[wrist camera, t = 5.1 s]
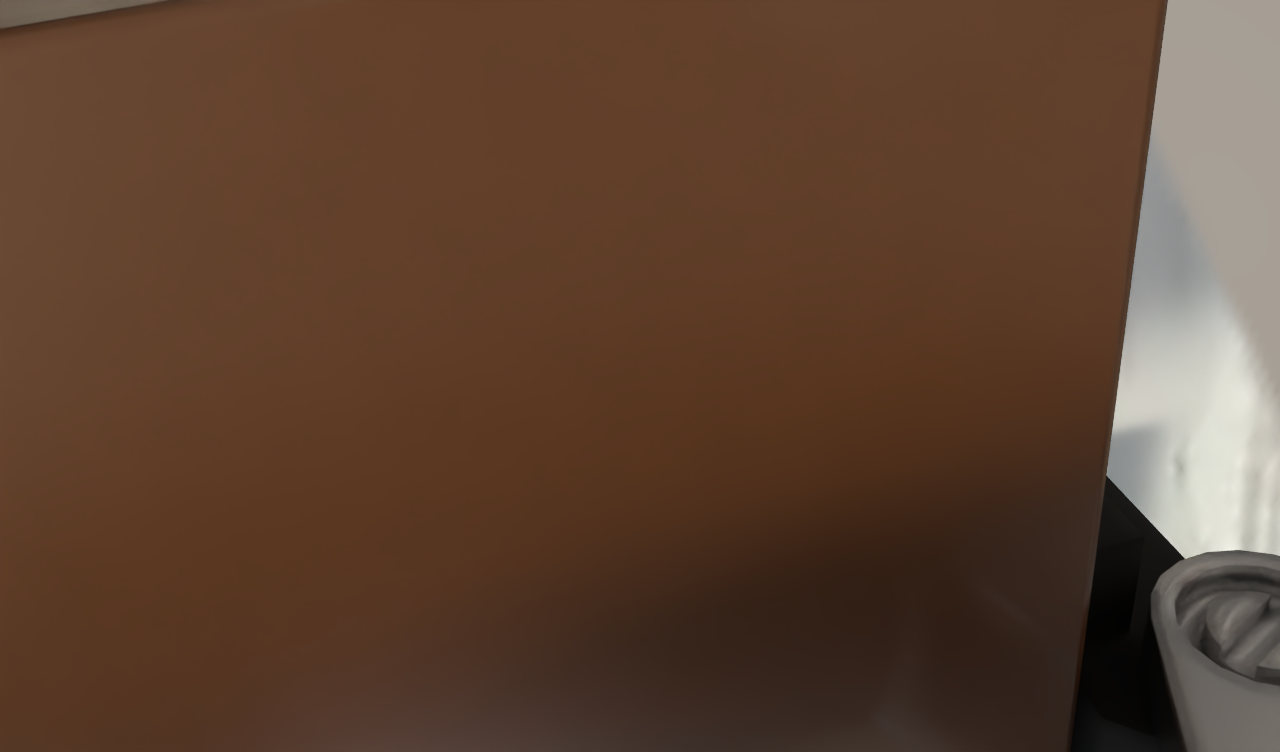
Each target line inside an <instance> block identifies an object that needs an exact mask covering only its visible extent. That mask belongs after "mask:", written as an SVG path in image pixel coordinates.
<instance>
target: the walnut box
mask: <svg viewBox="0 0 1280 752" xmlns="http://www.w3.org/2000/svg"><path fill="white" fill-rule="evenodd" d="M1167 2H1168V0H0V752H1070V751H1071V744H1072V736H1073V728H1074V720H1075V713H1076V705H1077V697H1078V690H1079V682H1080V674H1081V666H1082V659H1083V651H1084V643H1085V635H1086V628H1087V620H1088V612H1089V605H1090V597H1091V589H1092V581H1093V574H1094V566H1095V558H1096V550H1097V543H1098V535H1099V527H1100V520H1101V512H1102V504H1103V496H1104V489H1105V481H1106V473H1107V465H1108V458H1109V450H1110V442H1111V435H1112V427H1113V419H1114V411H1115V404H1116V396H1117V388H1118V380H1119V373H1120V365H1121V357H1122V350H1123V342H1124V334H1125V326H1126V319H1127V311H1128V303H1129V295H1130V288H1131V280H1132V272H1133V265H1134V257H1135V249H1136V241H1137V234H1138V226H1139V218H1140V210H1141V203H1142V195H1143V187H1144V180H1145V172H1146V164H1147V156H1148V149H1149V141H1150V133H1151V125H1152V118H1153V110H1154V102H1155V95H1156V87H1157V79H1158V71H1159V63H1160V56H1161V48H1162V40H1163V32H1164V24H1165V16H1166V10H1167Z"/></svg>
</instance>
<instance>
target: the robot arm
mask: <svg viewBox="0 0 1280 752" xmlns="http://www.w3.org/2000/svg"><path fill="white" fill-rule="evenodd" d="M1070 752H1280V556H1277V555H1273V554H1265V553H1257V552H1249V551H1241V550H1235V551H1220V552H1206V553H1203V554H1200V555H1197V556H1194V557H1191V558H1187V559H1185V558H1184V557H1183V556H1182V555H1181V554H1180V553H1179V552H1178V551H1177V550H1176V549H1175V548H1174V547H1173V546H1172V545H1171V544H1170V543H1169V542H1168V540H1167V539H1166V538H1165V537H1164V536H1163V535H1162V534H1161V533H1160V532H1159V531H1158V530H1157V529H1156V528H1155V527H1154V526H1153V525H1152V524H1151V522H1150V521H1149V520H1148V519H1147V518H1146V517H1145V516H1144V515H1143V514H1142V513H1141V512H1140V511H1139V510H1138V509H1137V508H1136V507H1135V506H1134V504H1133V503H1132V502H1131V501H1130V500H1129V499H1128V498H1127V497H1126V496H1125V495H1124V494H1123V493H1122V492H1121V491H1120V490H1119V489H1118V488H1117V486H1116V485H1115V484H1114V483H1113V482H1112V481H1111V480H1110V479H1109V478H1108V477H1107V476H1106V481H1105V489H1104V496H1103V504H1102V512H1101V520H1100V527H1099V535H1098V543H1097V550H1096V558H1095V566H1094V574H1093V581H1092V589H1091V597H1090V605H1089V612H1088V620H1087V628H1086V635H1085V643H1084V651H1083V659H1082V666H1081V674H1080V682H1079V690H1078V697H1077V705H1076V713H1075V720H1074V728H1073V736H1072V744H1071V751H1070Z"/></svg>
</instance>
